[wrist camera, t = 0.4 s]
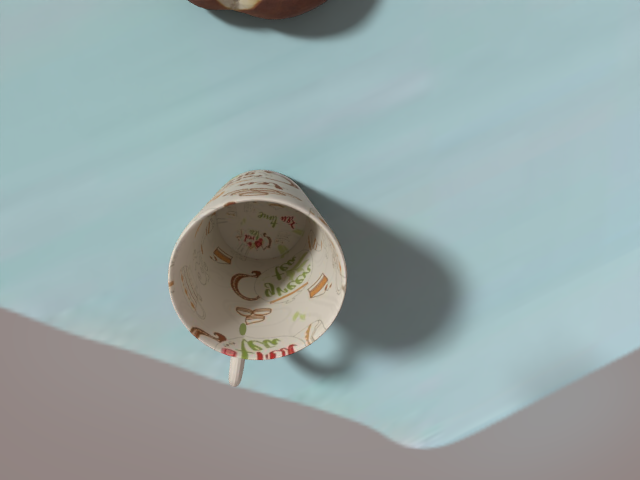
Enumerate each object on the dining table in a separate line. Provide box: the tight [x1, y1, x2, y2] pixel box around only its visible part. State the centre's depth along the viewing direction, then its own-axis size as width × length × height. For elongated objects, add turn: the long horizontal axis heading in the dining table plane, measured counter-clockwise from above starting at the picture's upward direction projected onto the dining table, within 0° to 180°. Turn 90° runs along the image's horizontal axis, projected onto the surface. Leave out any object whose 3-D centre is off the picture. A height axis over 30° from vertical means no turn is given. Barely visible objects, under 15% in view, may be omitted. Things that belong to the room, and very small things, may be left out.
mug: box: [168, 170, 347, 387], centre depth 33 cm, size 8×13×10 cm, turn 170°
